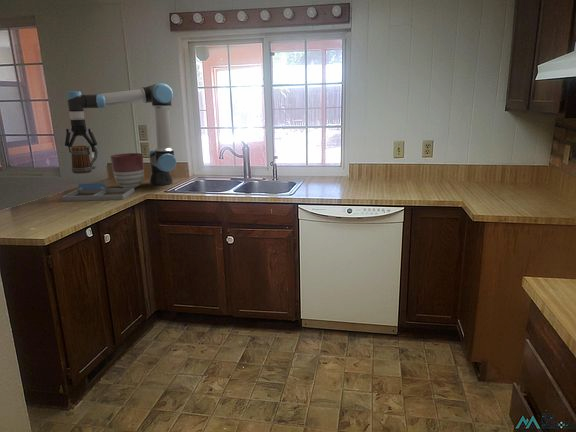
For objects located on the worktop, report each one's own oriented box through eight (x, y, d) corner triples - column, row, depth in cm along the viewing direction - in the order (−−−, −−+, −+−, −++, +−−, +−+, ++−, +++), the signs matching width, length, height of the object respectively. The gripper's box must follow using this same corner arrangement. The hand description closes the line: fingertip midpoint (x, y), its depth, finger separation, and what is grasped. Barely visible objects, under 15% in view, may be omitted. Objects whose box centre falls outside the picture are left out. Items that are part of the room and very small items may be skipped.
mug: (78, 174, 242) (74, 147, 238) (68, 172, 248) (65, 146, 244) (103, 170, 254) (100, 145, 250) (94, 168, 260) (91, 144, 256)
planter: (134, 191, 266) (130, 157, 261) (108, 190, 272) (103, 156, 266) (152, 185, 284) (148, 153, 279) (127, 184, 290) (123, 153, 284)
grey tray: (135, 191, 267) (133, 182, 265) (123, 199, 246) (122, 189, 244) (78, 193, 266) (77, 183, 264) (62, 201, 245) (60, 190, 243)
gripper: (100, 118, 247) (105, 156, 253) (60, 119, 246) (66, 157, 252) (95, 119, 240) (100, 158, 246) (54, 119, 239) (60, 159, 245)
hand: (83, 157), depth 249 cm, fingers closed on mug, 10 cm apart
